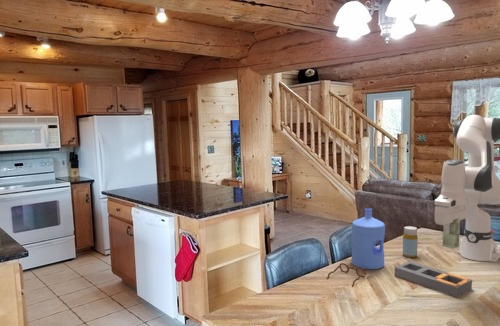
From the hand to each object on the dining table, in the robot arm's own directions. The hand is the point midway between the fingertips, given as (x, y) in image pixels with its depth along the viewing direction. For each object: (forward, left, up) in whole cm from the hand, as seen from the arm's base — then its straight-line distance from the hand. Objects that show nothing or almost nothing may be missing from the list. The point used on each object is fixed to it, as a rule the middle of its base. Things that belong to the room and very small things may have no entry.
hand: (451, 232), depth 160 cm
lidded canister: (-23, -32, -25) cm, 47 cm away
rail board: (0, -8, -24) cm, 25 cm away
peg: (0, 0, -6) cm, 6 cm away
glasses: (+26, -33, -25) cm, 49 cm away
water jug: (+4, -38, -25) cm, 46 cm away
